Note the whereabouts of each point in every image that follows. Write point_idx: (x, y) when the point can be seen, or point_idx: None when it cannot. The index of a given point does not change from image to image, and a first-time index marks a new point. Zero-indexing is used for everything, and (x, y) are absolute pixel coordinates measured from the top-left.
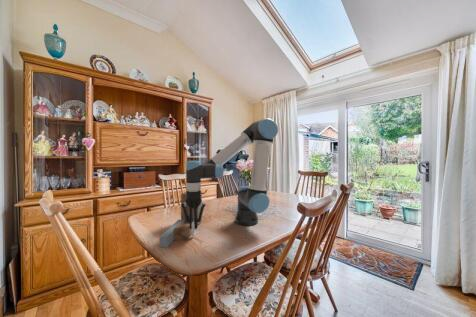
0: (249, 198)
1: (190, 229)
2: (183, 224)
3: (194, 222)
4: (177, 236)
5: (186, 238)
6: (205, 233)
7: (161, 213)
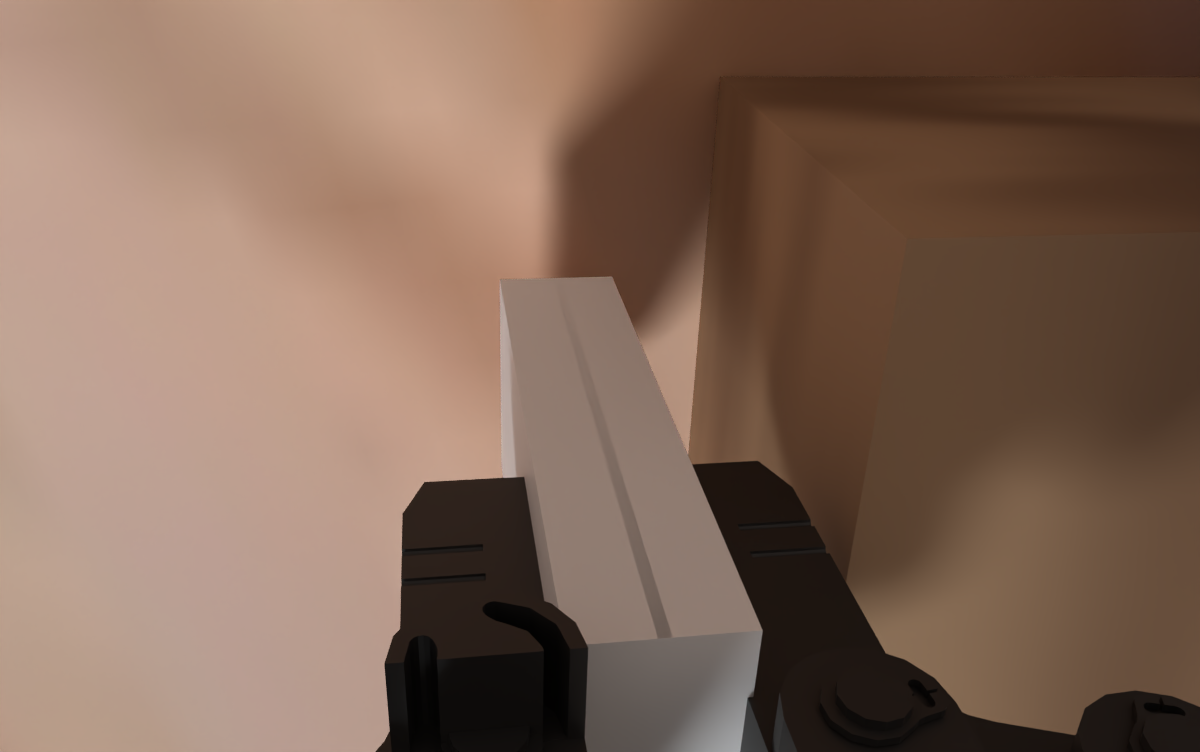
0: None
1: None
2: None
3: (561, 718)
4: (1170, 106)
5: (776, 91)
6: (236, 664)
7: None
